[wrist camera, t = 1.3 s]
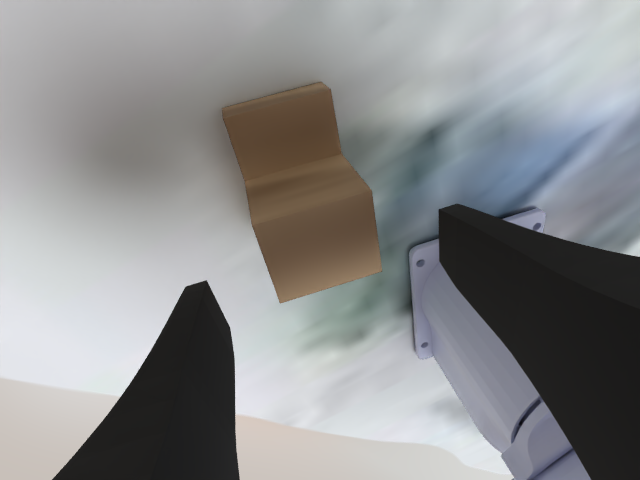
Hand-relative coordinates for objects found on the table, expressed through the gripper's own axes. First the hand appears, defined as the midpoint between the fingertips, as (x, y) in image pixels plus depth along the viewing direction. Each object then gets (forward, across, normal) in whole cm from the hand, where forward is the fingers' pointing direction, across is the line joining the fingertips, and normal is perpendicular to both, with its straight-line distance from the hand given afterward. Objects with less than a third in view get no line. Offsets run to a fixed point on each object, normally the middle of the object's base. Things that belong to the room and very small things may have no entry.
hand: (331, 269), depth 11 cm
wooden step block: (+7, 0, 0) cm, 7 cm away
